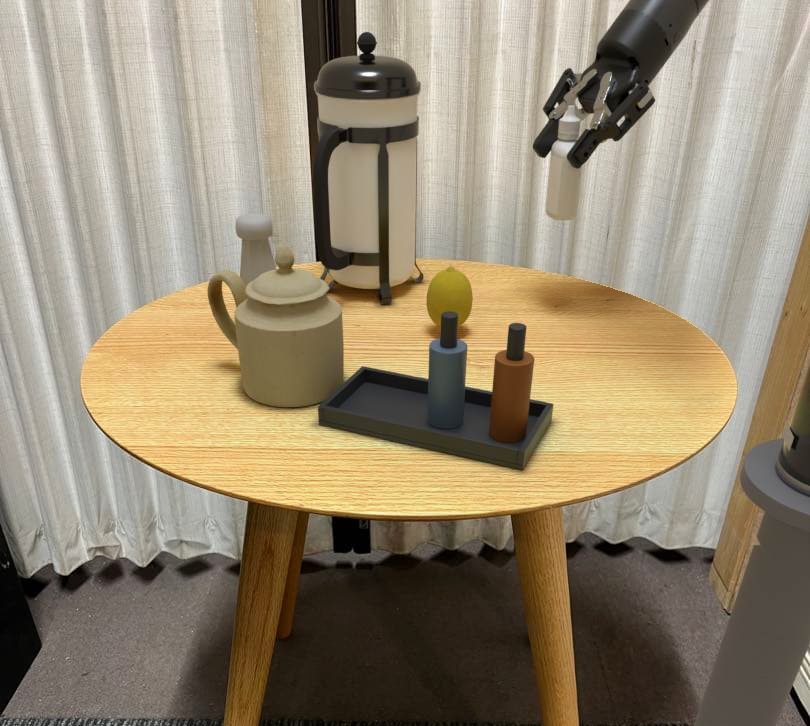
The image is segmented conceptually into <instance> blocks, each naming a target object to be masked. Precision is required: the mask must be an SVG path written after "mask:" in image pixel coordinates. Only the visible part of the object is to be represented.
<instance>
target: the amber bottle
mask: <svg viewBox="0 0 810 726" xmlns="http://www.w3.org/2000/svg"><path fill="white" fill-rule="evenodd" d="M527 329H528V327H527V325H526V324H524V323H522V322H512V323H510V324H509V325H508V330H507V339H506V340H507V341H506V349H503V350H499V351H498V352H496V354H495V355H494V365H493V376H492V377H493V378H492V389H491V390H492V401H491V413H490V426H489V434H490V436H491V437H492V438H493V439H495V440H497V441H501V442H506V443H513V442H518V441H521V440H523V439H524V438H525V436H526V431H527V422H528V413H529V404H530V399H531V394H532V393H531V392H532V386H533V375H534V367H535V357H534V355H533V354H532V353H530V352H528V351H525V348H526V347H525V346H526V338H527Z"/></svg>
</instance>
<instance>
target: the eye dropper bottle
mask: <svg viewBox="0 0 810 726" xmlns="http://www.w3.org/2000/svg"><path fill="white" fill-rule="evenodd" d="M581 122H582V121H581V120H580V119H579V118H577V117H576V115H575V106H568V109H567V111H566V112H565V114H564V116H563V118H561V119H560V120H559V129H558V138H559V139H558V140H557V141H556V142H555V143H554V144H553V145H552V148H551V151H550V156H549V166H548V167H549V168H548V178H547V188H546V198H545V208H544V210H545V214H546V216H548V218H551V219H552V220H555V221H572V220H575V218H576V216H577V215H576V214H577V207H578V198H579V190H580V181H581V173H582V172H581V171H582V166H581V167H580V168H579V169H577V168H574V167H572V166H571V164H570V163H569V161H568V160H567V154H568V152H569V151H570V150H571V148H572V147H573V145H574V144H575V143H576V141H577V140H578V139H579V137H580V129H581Z"/></svg>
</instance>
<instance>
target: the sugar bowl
mask: <svg viewBox="0 0 810 726" xmlns="http://www.w3.org/2000/svg"><path fill="white" fill-rule="evenodd" d="M295 261H296V260H295V255H294V253H293V251H292V249H290V247H289V246H288V245H287V244H282V245H279V247H278V249H277V251H276V253H275V257H274V263H275V265H277V267H278V268H276V269H275V270H271V271H267V272H265V273H263V274H261V275H260V276H258V277H257V278H256V279H255V280H253V281H251V282H250V283H249V284H248V285H247V286H246V285H245V284H244V282H243V280H242V279H241V278H240V274H238V273H237V272H235V271H232V270H228V269H222V270H219V271H216V273H214V274H213V275H212V276H211V278H210V279H209V281H208V284H207V299H208V304H209V307H210V310H211V313H212V316H213V319H214V320H215V323H216V324H217V326H218V328H219V329H220V331H221V332H222V334H223V335H224V336H225V337H226V338H227V340H228V341H229V342H230V343H231V345H232V346H234V347H235V348H236V349H237V354H238V360H239V366H240V374H241V381H242V382H241V383H242V387H243V391H244V392H245V394H246V395H247V396H248V397H249V398H250V399H251V400H254V401H255V402H257V403H260V404H263V405H266V406H271V407H276V408H277V407H278V408H299V407H308V406H309V407H310V406H315V405H316V404H321V403H322V402H324V401H325V400H326V399H327V398H328V397H329V396H330V395H331V394H332V393H333V392H334V391H336V390H337V389H338V388H339V387H340V386H341V385H342V384H343V383H344V382H345V381H344V379H345V376H344V375H345V374H344V372H345V370H344V369H345V368H344V367H345V365H344V364H345V361H344V359H345V358H344V348H345V347H344V325H343V324H344V323H343V310H342V307H341V305H340V303H339V302H338V301H337V300H335V299H334V298H332V297H330V296H327V293H328V292H327V291H328V290H329V286H328V284H329V283H327V282H326V281H325V280H324V281H323V280H321V279H320V277H317V275H316V274H314V273H313V272H311V271H308V270H306V269H301V268H293V267H294V263H295ZM223 283H224V284H226V286H227V287H228V288H229V291H230V292H231V294H232V297H233V300H234V303H235V310H234V320H233V318H231V316H230V314H229V312H228V309H227V305H226V302H225V300H224V294H223ZM326 292H327V293H326Z"/></svg>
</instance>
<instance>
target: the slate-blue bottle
mask: <svg viewBox="0 0 810 726" xmlns="http://www.w3.org/2000/svg"><path fill="white" fill-rule="evenodd" d="M458 330H459V327H458V314H457V313H456V312H451V311H447V312H443V313H442V314H441V327H440V331H439V332H440V333H439V338H436V339H434V340H432V341H430V342H429V344H428V375H427V376H428V377H427V379H428V410H427V421H428V423H429V424H430V425H432V426H433V427H436V428H440V429H452V428H456V427H458V426H460V425H461V424H462V423H463V416H464V399H465V386H466V380H467V379H466V378H467V365H468V343H467V342H465V341H464V340H462V339H460V338H458V335H459V334H458V333H459V332H458Z"/></svg>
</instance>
